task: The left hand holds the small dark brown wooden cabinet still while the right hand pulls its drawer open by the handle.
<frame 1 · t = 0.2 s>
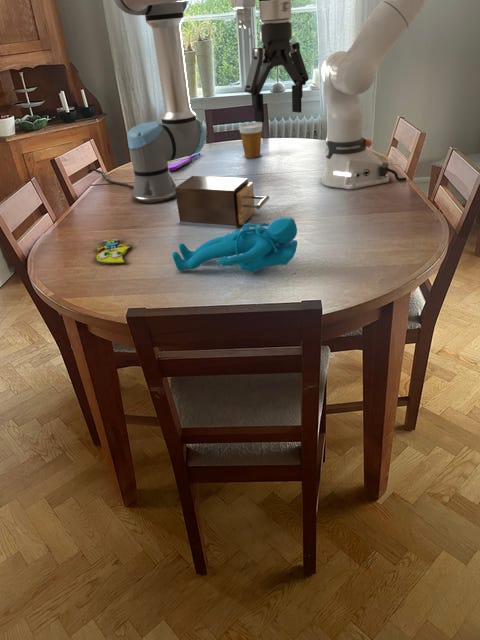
left hand: (278, 116, 126), 28 cm above the table, tool pointing down, fingers open, 13 cm apart
right hand: (244, 27, 136), 48 cm above the table, tool pointing down, fingers open, 8 cm apart
cabinet: (215, 218, 145), on the table
toy: (236, 268, 116), on the table
glass of beer: (252, 156, 202), on the table
musical instrument: (174, 164, 201), on the table
drawer: (229, 202, 140), point 5 cm above the table, slide at 0.6 cm
toy 2: (112, 253, 129), on the table
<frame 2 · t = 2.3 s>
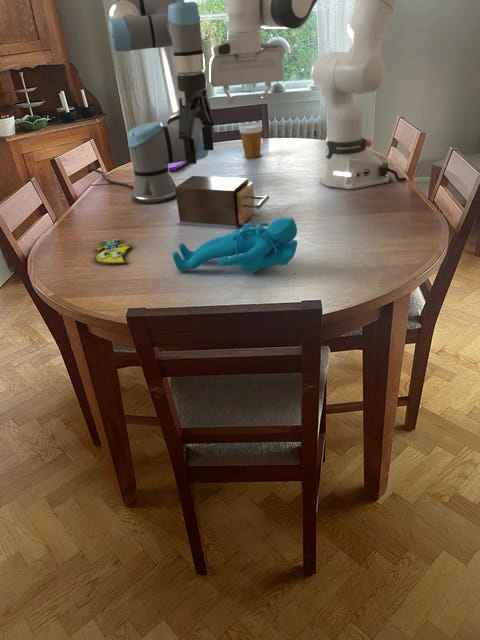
left hand: (200, 156, 136), 18 cm above the table, tool pointing down, fingers open, 13 cm apart
right hand: (247, 101, 134), 30 cm above the table, tool pointing down, fingers open, 8 cm apart
nothing on the table moved.
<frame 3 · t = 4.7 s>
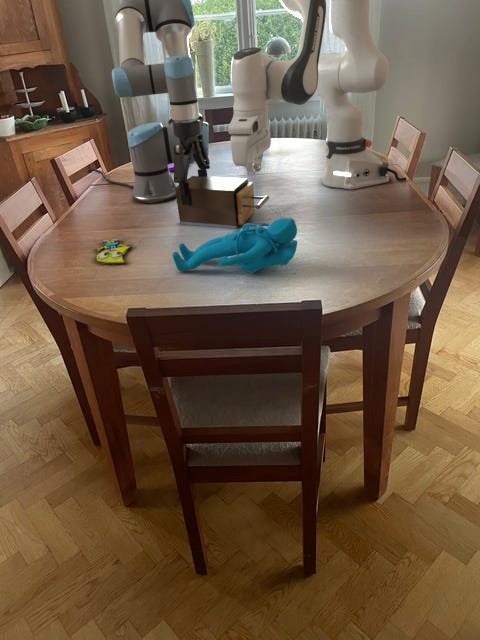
left hand: (196, 197, 143), 6 cm above the table, tool pointing down, fingers closed on cabinet, 11 cm apart
right hand: (254, 173, 132), 14 cm above the table, tool pointing down, fingers open, 3 cm apart
cabinet: (215, 218, 145), on the table, touching left hand
everything else where it was.
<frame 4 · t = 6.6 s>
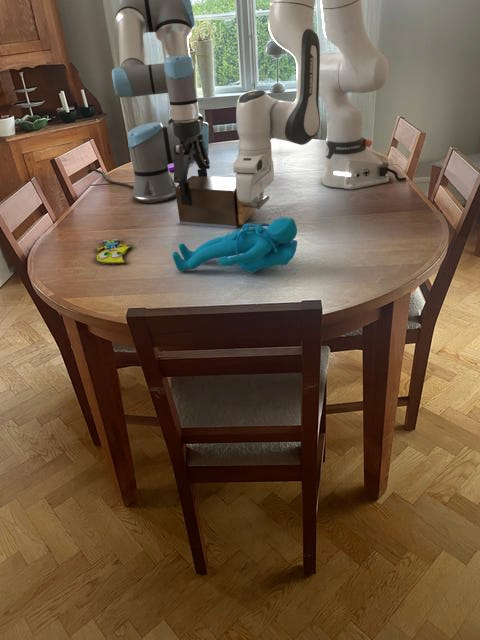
left hand: (196, 197, 143), 6 cm above the table, tool pointing down, fingers closed on cabinet, 11 cm apart
right hand: (258, 207, 137), 5 cm above the table, tool pointing down, fingers closed, pressing on drawer
cabinet: (215, 218, 144), on the table, touching left hand
drawer: (229, 202, 140), point 5 cm above the table, slide at 0.6 cm, touching right hand
everything else where it was.
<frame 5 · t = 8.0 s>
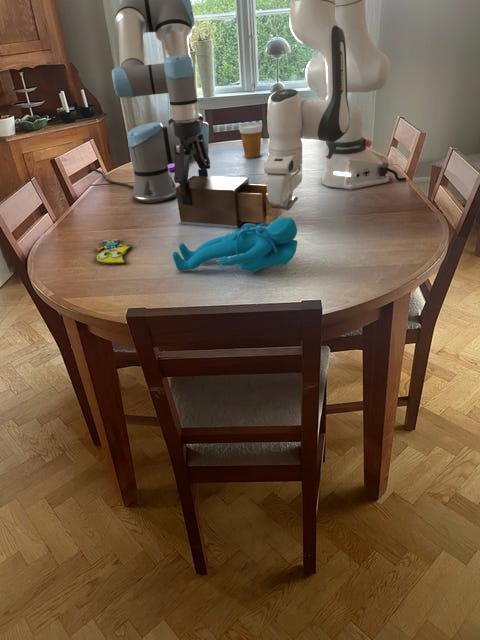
left hand: (196, 197, 143), 6 cm above the table, tool pointing down, fingers closed on cabinet, 11 cm apart
right hand: (286, 208, 134), 5 cm above the table, tool pointing down, fingers closed, pressing on drawer
cabinet: (216, 218, 144), on the table, touching left hand
drawer: (256, 203, 137), point 6 cm above the table, slide at 8.9 cm, touching right hand
everything else where it was.
when the left hand's fingers open (6 cm above the table, at t = 9.6 s): cabinet stays where it is, on the table.
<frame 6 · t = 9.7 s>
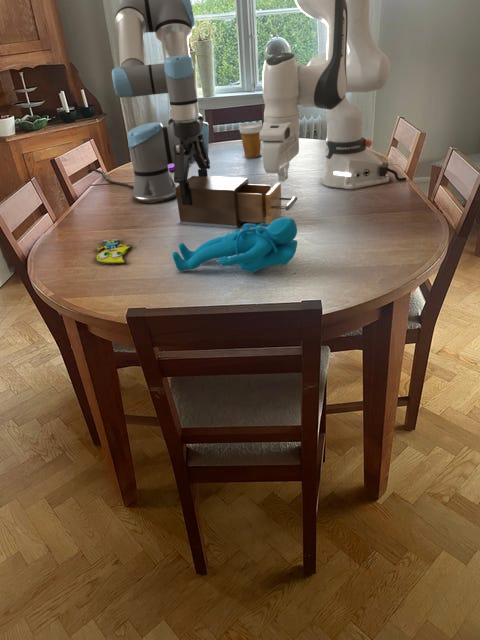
left hand: (196, 197, 143), 6 cm above the table, tool pointing down, fingers open, 11 cm apart
right hand: (283, 180, 130), 13 cm above the table, tool pointing down, fingers closed
cabinet: (216, 218, 144), on the table
drawer: (256, 203, 137), point 6 cm above the table, slide at 8.9 cm
everything else where it was.
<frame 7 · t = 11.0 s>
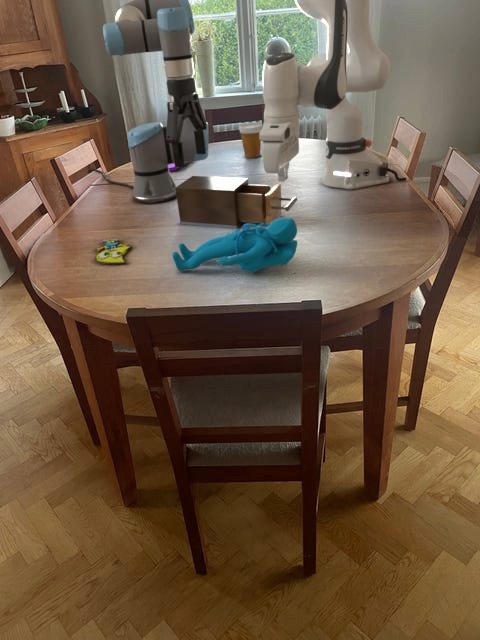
left hand: (191, 160, 137), 17 cm above the table, tool pointing down, fingers open, 13 cm apart
right hand: (283, 180, 130), 13 cm above the table, tool pointing down, fingers closed
cabinet: (215, 218, 144), on the table
everything else where it was.
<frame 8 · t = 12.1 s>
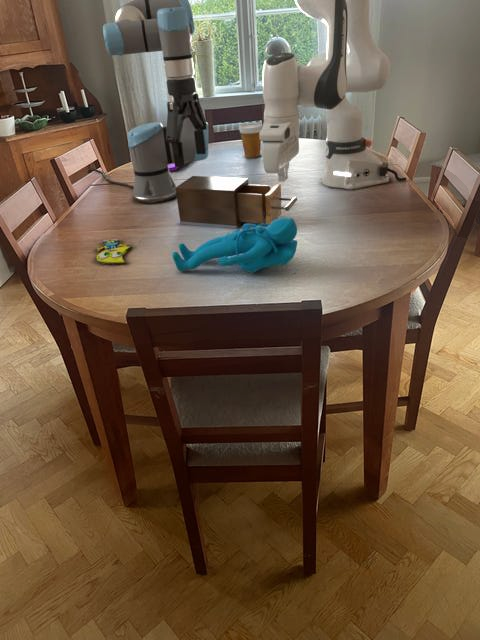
left hand: (191, 160, 137), 17 cm above the table, tool pointing down, fingers open, 13 cm apart
right hand: (283, 180, 130), 13 cm above the table, tool pointing down, fingers closed
nothing on the table moved.
at the end: drawer slide at 8.9 cm; cabinet tilted 0°; cabinet never tilted more than 1° during the clip; cabinet moved 0.1 cm from its start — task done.
